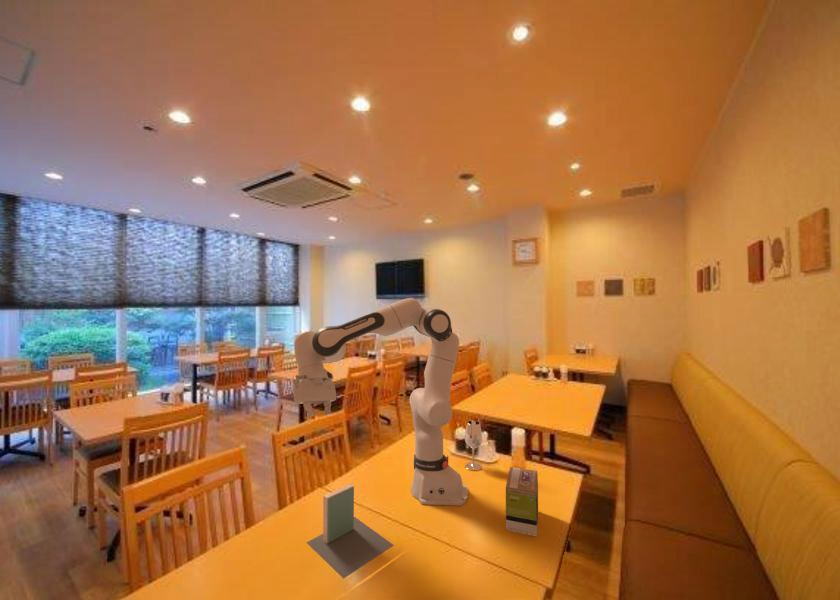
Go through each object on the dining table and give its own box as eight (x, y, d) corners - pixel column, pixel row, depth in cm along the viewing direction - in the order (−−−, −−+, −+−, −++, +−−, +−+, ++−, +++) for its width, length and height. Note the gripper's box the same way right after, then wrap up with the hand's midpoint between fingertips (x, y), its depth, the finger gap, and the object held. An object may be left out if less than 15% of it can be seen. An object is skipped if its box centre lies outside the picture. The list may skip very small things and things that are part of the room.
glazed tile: (323, 540, 109) (323, 495, 109) (350, 526, 117) (350, 483, 117) (327, 544, 108) (327, 498, 108) (354, 529, 115) (354, 486, 115)
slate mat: (306, 544, 109) (306, 542, 109) (354, 518, 122) (354, 516, 122) (343, 580, 95) (343, 578, 95) (393, 546, 108) (393, 545, 108)
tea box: (509, 505, 130) (509, 465, 130) (538, 511, 126) (538, 469, 126) (505, 530, 116) (505, 485, 116) (537, 537, 112) (537, 491, 112)
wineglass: (462, 463, 163) (463, 419, 163) (479, 462, 164) (479, 419, 164) (466, 471, 155) (466, 425, 155) (484, 470, 156) (484, 425, 156)
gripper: (300, 371, 115) (308, 414, 111) (335, 374, 134) (343, 411, 129) (285, 378, 117) (292, 420, 112) (321, 380, 136) (328, 416, 131)
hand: (320, 415), depth 121 cm, fingers open, 8 cm apart
